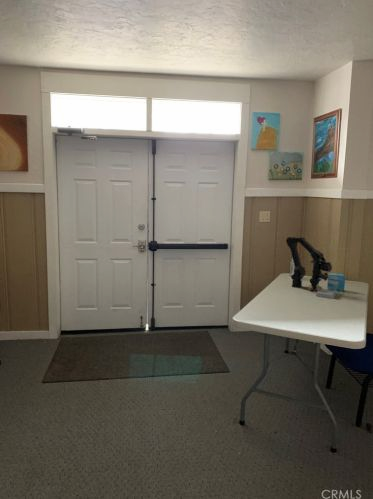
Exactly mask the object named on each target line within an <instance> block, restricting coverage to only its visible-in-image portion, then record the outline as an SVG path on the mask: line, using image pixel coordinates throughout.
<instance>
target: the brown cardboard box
mask: <svg viewBox="0 0 373 499" xmlns="http://www.w3.org/2000/svg"><path fill="white" fill-rule="evenodd" d="M307 290H308V292H311V291H312V292H313V293H317V291H318V290H323V286H320V285H319V287H316V290H315V291H314V290H313V288H312V285H311V284H309V285H308V289H307Z"/></svg>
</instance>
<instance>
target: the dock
mask: <svg viewBox="0 0 373 499" xmlns="http://www.w3.org/2000/svg"><path fill="white" fill-rule="evenodd" d="M336 294H337V291H336V290H325V289H324V290H323V289H322V290H317V291H316V292H315V296H316V297H318V298H319V297H321V298H326V299H331V300H332V299H335V297H336Z"/></svg>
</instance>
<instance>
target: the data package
mask: <svg viewBox="0 0 373 499" xmlns="http://www.w3.org/2000/svg"><path fill="white" fill-rule="evenodd" d="M328 276H329V277H328V279H327V283H326V284H327V285H326V287H327V288H326V289H328V291H334V290H336V292H338V291H339V292H343V291H344V290H345V285H346V275H345V274H341V273H331V272H329V274H328Z"/></svg>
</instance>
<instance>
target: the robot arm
mask: <svg viewBox="0 0 373 499" xmlns="http://www.w3.org/2000/svg"><path fill="white" fill-rule="evenodd" d="M285 242H286V245H287V247H288V249H290V253H291V257H292V261H293V266H294V268H293V274H292V275H291V276H290V278H291V279H292V281H291V282H292V283H291V287H293V288H298V289H299V288H301V287H302V286H303V280H302V279H303V278H304V276H306V268H305V267H304V266H302V264H301V260H300V256H299V252H298V248H297V247H298V243H299V244H300V245H301V246H302V247H303V248H304V249H305V250H306V251H307V252H308V253H309V254H310V257H311V258H312V260H311V261H310V263H312V275H311V278H310V279H309V283H310V285H312V288H313V289H312V291H313V290H314V291H315V290H316V286H317V284H318V283H319V284H320V282H321V281H322V280H324V281H328V277H329V276H328V275H329V274H328V272H329V273H331V271H332V269H333V267H332V263H331V261H327V260H326V259H325V257H324V254H323V253H322V252H321V251H320V250H318V249H316V248H315V247H314V246H312V244H310V243H309V242H308V241H307V239H306V238H305V237H302V236H301V237H295V236H289V237H287V238H286V240H285ZM322 271H324V273H323V272H322Z"/></svg>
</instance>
